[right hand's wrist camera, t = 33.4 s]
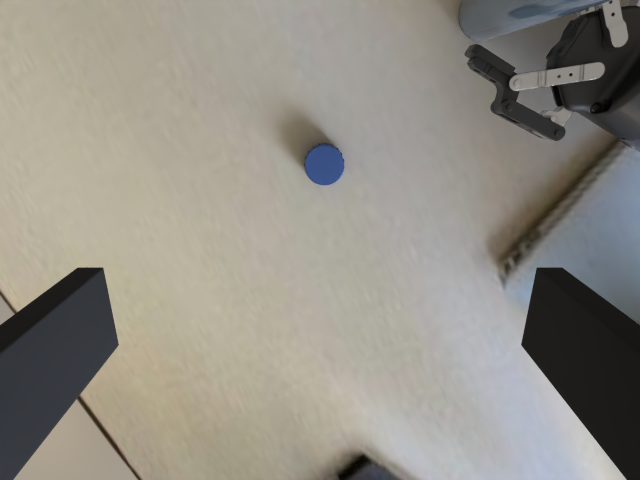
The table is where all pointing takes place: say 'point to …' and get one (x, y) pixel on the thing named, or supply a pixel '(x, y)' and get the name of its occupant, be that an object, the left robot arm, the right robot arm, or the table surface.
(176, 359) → the table surface
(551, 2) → the bottle
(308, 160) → the cap
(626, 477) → the right robot arm
